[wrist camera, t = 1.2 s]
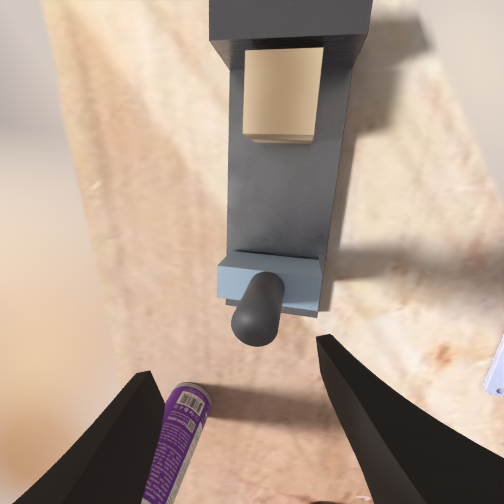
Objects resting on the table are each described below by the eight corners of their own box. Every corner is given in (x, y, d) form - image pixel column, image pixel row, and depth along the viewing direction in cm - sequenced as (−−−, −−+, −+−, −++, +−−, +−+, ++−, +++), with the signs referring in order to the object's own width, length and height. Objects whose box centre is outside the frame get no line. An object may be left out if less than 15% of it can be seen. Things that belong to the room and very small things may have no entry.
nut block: (318, 77, 16) (323, 47, 13) (311, 143, 17) (314, 135, 14) (258, 78, 17) (245, 50, 13) (255, 142, 18) (242, 133, 14)
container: (165, 387, 28) (27, 597, 14) (199, 377, 27) (84, 599, 13) (185, 419, 29) (74, 647, 15) (219, 411, 28) (132, 654, 14)
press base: (354, 37, 16) (375, -20, 11) (316, 312, 22) (320, 348, 17) (234, 42, 18) (209, -7, 13) (228, 299, 23) (210, 330, 19)
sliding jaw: (318, 260, 19) (329, 315, 12) (315, 288, 20) (322, 358, 12) (231, 251, 21) (188, 295, 13) (230, 278, 21) (189, 335, 14)
